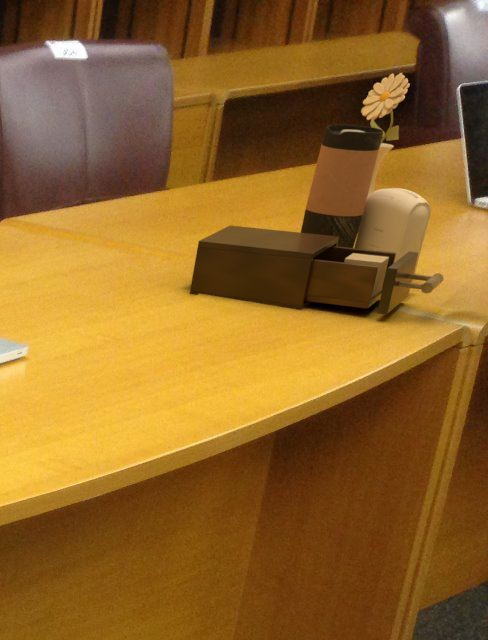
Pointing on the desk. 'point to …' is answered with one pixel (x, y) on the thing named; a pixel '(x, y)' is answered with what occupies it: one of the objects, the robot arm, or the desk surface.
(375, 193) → the photo printer
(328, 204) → the travel mug
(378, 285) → the block
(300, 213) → the desk surface
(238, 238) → the cabinet
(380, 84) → the flower in vase
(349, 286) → the drawer
